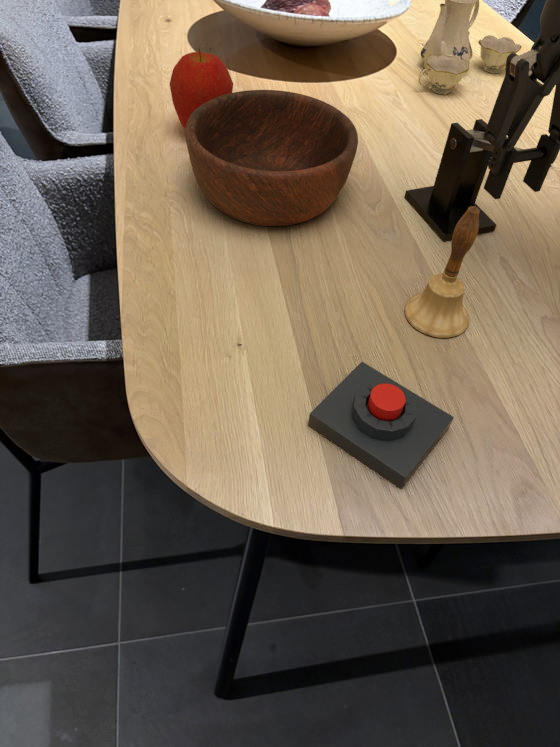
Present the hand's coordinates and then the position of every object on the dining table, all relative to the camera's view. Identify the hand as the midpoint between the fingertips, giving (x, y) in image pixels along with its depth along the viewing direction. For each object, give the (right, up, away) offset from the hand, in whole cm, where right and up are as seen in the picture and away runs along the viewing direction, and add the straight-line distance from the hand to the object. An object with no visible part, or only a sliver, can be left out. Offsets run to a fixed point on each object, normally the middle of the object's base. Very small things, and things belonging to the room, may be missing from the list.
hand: (511, 189), depth 79 cm
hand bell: (-10, -17, -1) cm, 20 cm away
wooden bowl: (-32, +5, +16) cm, 36 cm away
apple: (-44, +18, +26) cm, 54 cm away
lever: (-2, +5, +2) cm, 5 cm away
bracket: (-4, +1, +14) cm, 15 cm away
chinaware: (+6, +39, +48) cm, 62 cm away
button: (-19, -28, -16) cm, 37 cm away
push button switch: (-20, -30, -13) cm, 38 cm away
